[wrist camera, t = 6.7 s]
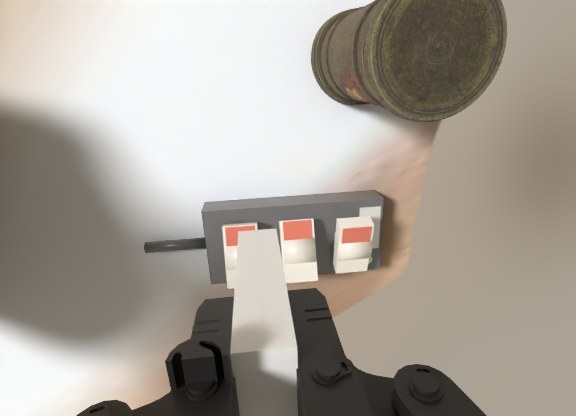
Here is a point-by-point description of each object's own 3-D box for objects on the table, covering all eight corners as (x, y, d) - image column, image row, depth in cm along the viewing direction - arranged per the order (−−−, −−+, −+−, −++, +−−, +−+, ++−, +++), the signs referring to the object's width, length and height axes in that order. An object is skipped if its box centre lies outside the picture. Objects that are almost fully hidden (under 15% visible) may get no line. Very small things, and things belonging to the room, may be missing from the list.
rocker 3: (331, 258, 42) (337, 278, 40) (334, 213, 38) (341, 232, 36) (360, 255, 43) (368, 275, 40) (367, 211, 39) (376, 229, 36)
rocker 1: (229, 281, 40) (226, 290, 37) (224, 223, 39) (221, 227, 36) (261, 278, 40) (261, 287, 37) (256, 220, 40) (257, 225, 36)
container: (302, 21, 35) (351, -26, 19) (390, 1, 35) (517, -63, 19) (318, 112, 39) (372, 142, 22) (399, 94, 39) (513, 109, 22)
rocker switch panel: (155, 275, 43) (148, 290, 40) (141, 206, 40) (133, 217, 37) (371, 256, 46) (380, 269, 43) (374, 190, 42) (384, 198, 39)
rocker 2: (282, 279, 40) (284, 284, 37) (278, 220, 40) (280, 221, 37) (314, 276, 40) (319, 281, 37) (309, 218, 40) (314, 218, 37)
